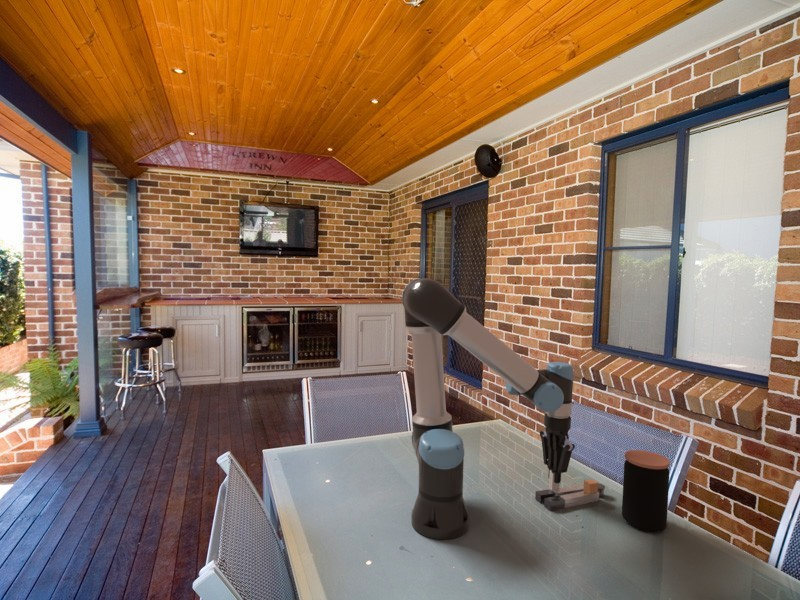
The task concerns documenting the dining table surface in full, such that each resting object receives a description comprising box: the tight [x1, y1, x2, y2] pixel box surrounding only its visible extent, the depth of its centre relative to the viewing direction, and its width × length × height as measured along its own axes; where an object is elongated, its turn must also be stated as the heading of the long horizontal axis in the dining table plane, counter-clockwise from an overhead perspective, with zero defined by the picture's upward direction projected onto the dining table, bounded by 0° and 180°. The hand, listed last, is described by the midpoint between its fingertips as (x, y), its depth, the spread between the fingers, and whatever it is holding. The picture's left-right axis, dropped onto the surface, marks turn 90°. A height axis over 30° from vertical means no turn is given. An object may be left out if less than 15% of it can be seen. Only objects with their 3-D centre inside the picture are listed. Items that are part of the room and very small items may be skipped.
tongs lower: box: [543, 482, 606, 512], centre depth 133 cm, size 22×5×3 cm, turn 111°
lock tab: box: [583, 478, 599, 494], centre depth 133 cm, size 3×2×3 cm
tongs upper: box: [535, 484, 584, 505], centre depth 134 cm, size 18×2×2 cm, turn 107°
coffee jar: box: [621, 449, 671, 534], centre depth 121 cm, size 11×11×18 cm
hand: (553, 491), depth 136 cm, fingers closed
